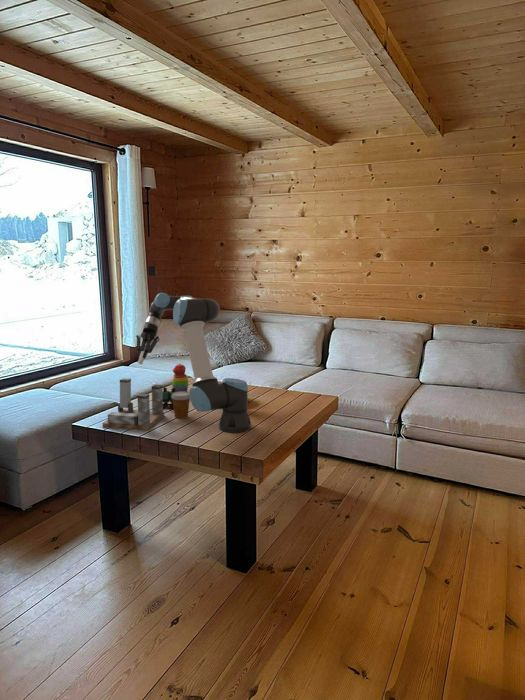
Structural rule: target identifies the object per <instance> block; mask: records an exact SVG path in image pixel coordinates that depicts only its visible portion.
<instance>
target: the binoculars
mask: <svg viewBox="0 0 525 700" xmlns="http://www.w3.org/2000/svg"><path fill="white" fill-rule="evenodd" d="M162 391H163V410H165V408H166V409H167V406H168V409H169V410H174V406H173V400H172V397H171V396H172V393H174V392H176V391H175V388H173V387H172V388H171V389H170V390H168V388H167V387H165V386H163V387H162ZM169 402H170V403H169Z"/></svg>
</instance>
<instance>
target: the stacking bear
mask: <svg viewBox="0 0 525 700" xmlns="http://www.w3.org/2000/svg"><path fill="white" fill-rule="evenodd" d="M186 369H187V368H186V366H185V365H183V364H181V363H179V364H176V365H175V367H173V369H172V372H173V373H174V374H173V376H172V380H171V384H172V385H171V386H172V388H175V391H176V392H179V391H185V392H189V391H188V389H189V378H188V375H186Z"/></svg>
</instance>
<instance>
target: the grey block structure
mask: <svg viewBox="0 0 525 700" xmlns="http://www.w3.org/2000/svg"><path fill="white" fill-rule="evenodd" d="M163 387H164V386H163V384H153V385H152V386H151V410H150V393H140V394H138V395H137V409H134V403H133V402H132V401H131V403H130V404H128V408H120V402H118V403H117V412H116V411H115V412H113V411H111V412H110V413H108V414H107V419H106V420H105V421H103V422H101V424H102V428H107V427H111V428H110V429H120V428H124V430H134V429H137V430H136V431H149V430H150V429H151V428H152V427H153V426H155V425H156V424H157V423H158V422H157V421H161V419H162V418H164V417H165V411H164V409H163V404H164V403H163V391H164V390H163ZM156 422H157V423H156ZM150 427H151V428H150ZM149 428H150V429H149ZM148 429H149V430H148Z"/></svg>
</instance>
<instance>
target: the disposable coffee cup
mask: <svg viewBox="0 0 525 700" xmlns="http://www.w3.org/2000/svg"><path fill="white" fill-rule="evenodd" d="M171 397H172V400H173V406H174V409H173V411H174V417H175V418H176V419H181V420H182V419H186V418H188V416H189V410H190V409H189V408H190V407H189V406H190V401H191V400H190V391H188V392H185V391H179V392H174V393H172V396H171Z"/></svg>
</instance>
